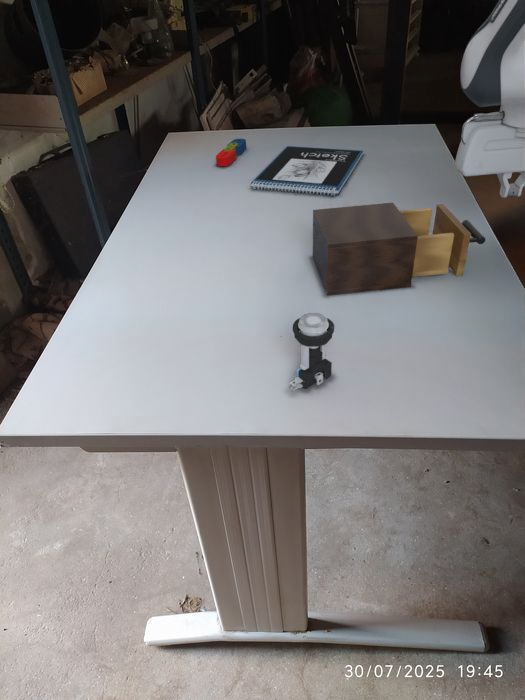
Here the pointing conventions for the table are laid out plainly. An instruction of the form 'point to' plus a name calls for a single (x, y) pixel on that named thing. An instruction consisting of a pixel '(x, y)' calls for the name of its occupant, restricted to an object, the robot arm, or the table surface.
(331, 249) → the wooden drawer box
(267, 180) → the sketchbook
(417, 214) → the wooden pull-out drawer
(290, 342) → the table surface
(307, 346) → the push button
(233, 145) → the multicolored plastic bar
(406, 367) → the table surface
